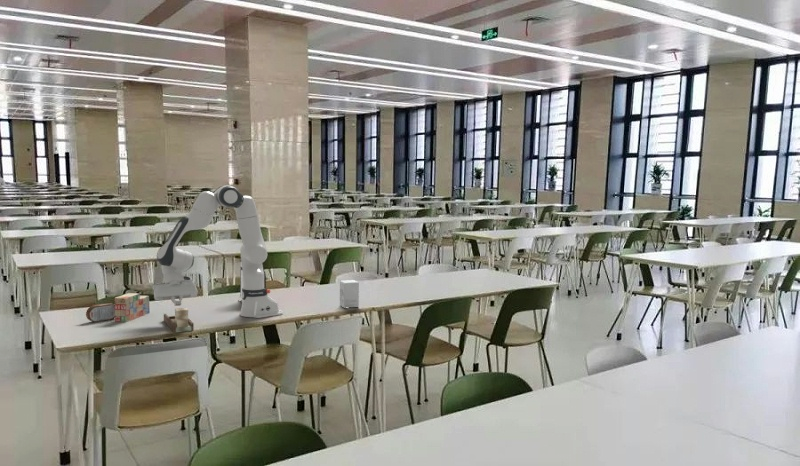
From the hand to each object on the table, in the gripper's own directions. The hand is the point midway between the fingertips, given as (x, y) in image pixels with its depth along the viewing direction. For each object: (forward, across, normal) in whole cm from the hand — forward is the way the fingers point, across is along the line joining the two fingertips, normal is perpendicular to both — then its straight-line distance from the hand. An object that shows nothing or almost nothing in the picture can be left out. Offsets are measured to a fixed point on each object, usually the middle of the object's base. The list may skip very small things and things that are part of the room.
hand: (178, 305), depth 295 cm
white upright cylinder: (-19, +50, +34) cm, 64 cm away
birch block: (+13, -1, -2) cm, 13 cm away
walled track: (+8, 0, +6) cm, 10 cm away
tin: (-11, -31, +25) cm, 42 cm away
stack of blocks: (-12, -17, +26) cm, 34 cm away
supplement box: (+7, +95, +9) cm, 95 cm away
